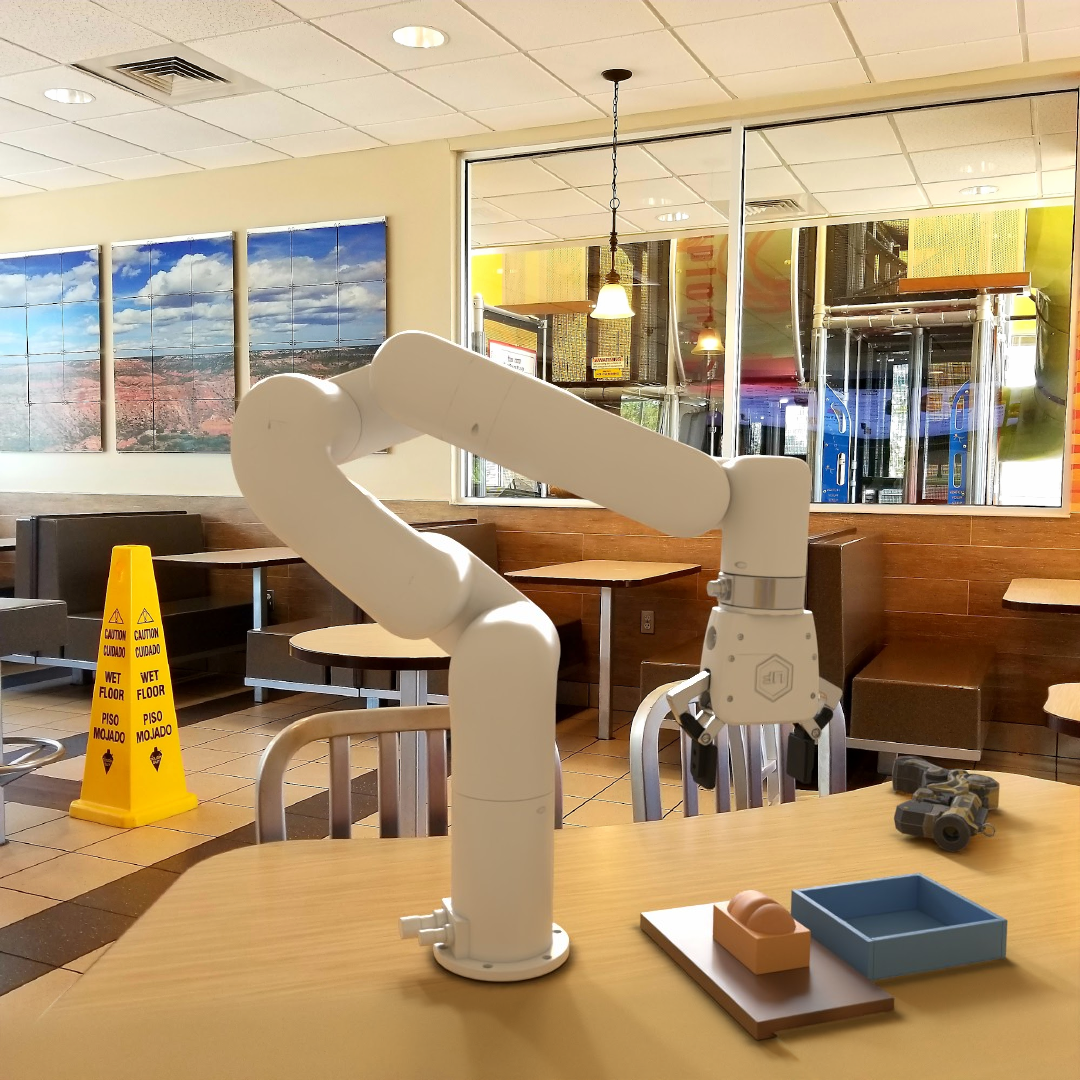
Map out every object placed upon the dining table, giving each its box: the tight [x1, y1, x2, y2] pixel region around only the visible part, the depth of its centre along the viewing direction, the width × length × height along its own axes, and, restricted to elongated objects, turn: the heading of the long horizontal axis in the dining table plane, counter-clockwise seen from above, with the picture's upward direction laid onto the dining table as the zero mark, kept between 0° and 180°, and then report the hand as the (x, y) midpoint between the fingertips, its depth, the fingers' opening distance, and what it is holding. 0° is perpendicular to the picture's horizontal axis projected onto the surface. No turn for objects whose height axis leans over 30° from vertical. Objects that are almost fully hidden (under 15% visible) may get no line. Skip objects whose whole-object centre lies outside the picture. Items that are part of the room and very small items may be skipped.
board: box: [639, 900, 895, 1041], centre depth 97 cm, size 13×22×2 cm, turn 19°
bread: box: [713, 889, 811, 975], centre depth 97 cm, size 5×8×5 cm
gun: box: [891, 755, 1000, 852], centre depth 140 cm, size 5×26×15 cm
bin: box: [790, 872, 1008, 982], centre depth 102 cm, size 15×12×4 cm
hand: (751, 782), depth 97 cm, fingers open, 9 cm apart
